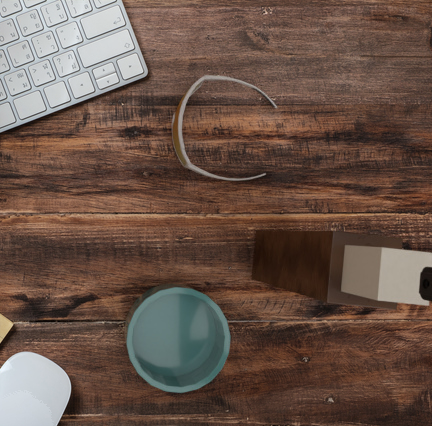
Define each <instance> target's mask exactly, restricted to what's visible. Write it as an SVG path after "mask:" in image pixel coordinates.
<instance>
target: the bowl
mask: <svg viewBox="0 0 432 426" xmlns="http://www.w3.org/2000/svg"><path fill="white" fill-rule="evenodd" d="M123 333H124V334H123V338H124V342H125V347H126V352H127V355H128V358H129V361H130V363H131V364H132V366H133V368H134V370H135V371H136V373H137V375H138V376H140V377H141V378H142V379H143V380H144V381H145V382H146V383H148V384H149V386H152V387H154V388H156V389H159V390H161V391H163V392H168V393H175V394H176V393H178V394H183V393H187V392H192V391H197V390H199V389H201V388H203V387H204V386H206V385H207V384H209V383H211V382H212V381H213V380H214V379H215V377H217V376H218V374H219V373H221V371H222V370H223V368H224V366H225V363H226V362H227V359H228V357H229V354H230V347H231V338H232V337H231V332H230V327H229V322H228V319H227V318H226V316H225V314H224V312H223V310H222V309H221V307H220V306H219V304H217V303H216V302H215V301H214V300H213V299H212V298H211V297H210V296H208V294H206V293H204V292H202V291H200V290H198V289H196V288H193V287H192V286H189V285H187V284H182V283H172V282H170V283H163V284H159V285H156V286H153V287H151V288H149V289H147V290H146V291H144V292H143V293H142V294H141V295H140V296H138V298H137V299H136V300H135V301H134V302H133V303H132V305H131V306H130V308H129V311H128V312H127V315H126V317H125V322H124V331H123Z"/></svg>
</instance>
